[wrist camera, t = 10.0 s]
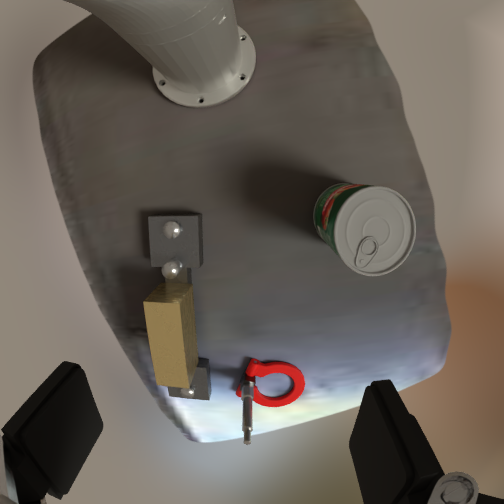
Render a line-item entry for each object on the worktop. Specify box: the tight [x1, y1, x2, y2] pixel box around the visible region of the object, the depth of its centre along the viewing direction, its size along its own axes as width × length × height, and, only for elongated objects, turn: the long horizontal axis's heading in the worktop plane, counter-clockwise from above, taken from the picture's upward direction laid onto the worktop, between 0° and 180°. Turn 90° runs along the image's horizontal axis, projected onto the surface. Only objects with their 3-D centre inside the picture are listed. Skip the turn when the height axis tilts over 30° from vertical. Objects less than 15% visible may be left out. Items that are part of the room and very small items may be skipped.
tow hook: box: [236, 359, 305, 445], centre depth 35 cm, size 8×13×9 cm
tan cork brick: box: [143, 283, 199, 388], centre depth 34 cm, size 11×4×6 cm, turn 0°
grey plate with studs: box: [148, 214, 211, 400], centre depth 36 cm, size 26×6×4 cm, turn 0°
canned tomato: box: [313, 183, 416, 276], centre depth 29 cm, size 8×8×11 cm
